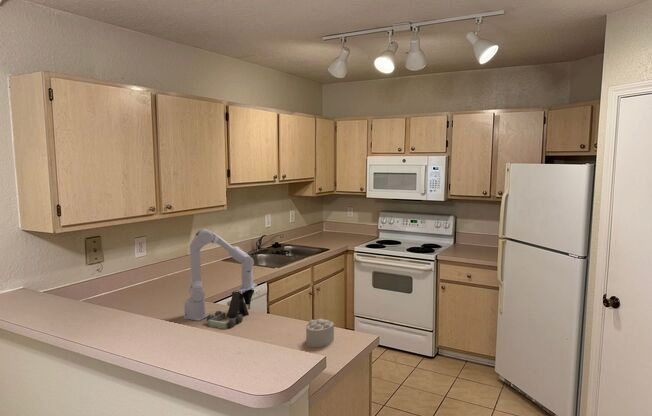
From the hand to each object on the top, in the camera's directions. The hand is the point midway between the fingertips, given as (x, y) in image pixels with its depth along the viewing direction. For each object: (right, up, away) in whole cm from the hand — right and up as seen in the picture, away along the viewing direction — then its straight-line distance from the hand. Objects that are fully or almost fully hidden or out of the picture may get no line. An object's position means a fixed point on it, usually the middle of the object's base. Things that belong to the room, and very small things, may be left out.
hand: (247, 304), depth 225 cm
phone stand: (-3, -4, -8) cm, 10 cm away
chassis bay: (-7, -5, -16) cm, 19 cm away
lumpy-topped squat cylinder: (+38, -8, -38) cm, 54 cm away
